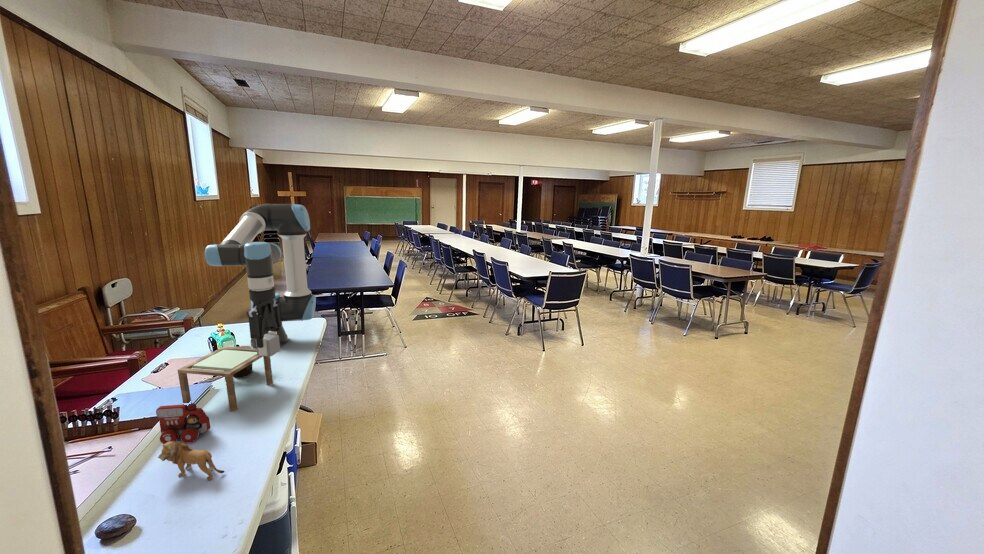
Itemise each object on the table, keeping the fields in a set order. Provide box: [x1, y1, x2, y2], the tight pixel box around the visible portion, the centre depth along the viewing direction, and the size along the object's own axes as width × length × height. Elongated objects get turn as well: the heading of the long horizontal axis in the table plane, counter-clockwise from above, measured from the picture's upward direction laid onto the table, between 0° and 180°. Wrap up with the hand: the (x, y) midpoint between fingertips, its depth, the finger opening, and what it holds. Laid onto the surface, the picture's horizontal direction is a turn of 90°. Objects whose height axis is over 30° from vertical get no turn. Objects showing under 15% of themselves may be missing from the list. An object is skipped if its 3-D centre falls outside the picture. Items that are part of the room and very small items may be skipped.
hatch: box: [192, 350, 257, 371], centre depth 131 cm, size 13×14×1 cm
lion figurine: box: [157, 440, 225, 481], centre depth 96 cm, size 15×5×9 cm, turn 91°
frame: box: [177, 346, 274, 413], centre depth 132 cm, size 19×18×14 cm
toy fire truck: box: [155, 402, 211, 445], centre depth 110 cm, size 7×12×10 cm, turn 102°
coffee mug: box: [233, 345, 254, 379], centre depth 149 cm, size 12×9×10 cm
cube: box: [256, 334, 281, 357], centre depth 132 cm, size 5×5×6 cm
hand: (268, 351), depth 133 cm, fingers closed on cube, 5 cm apart
